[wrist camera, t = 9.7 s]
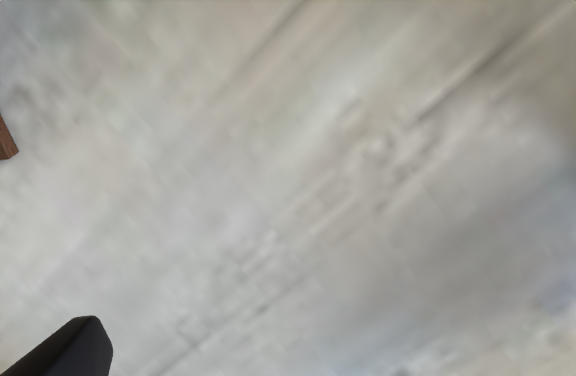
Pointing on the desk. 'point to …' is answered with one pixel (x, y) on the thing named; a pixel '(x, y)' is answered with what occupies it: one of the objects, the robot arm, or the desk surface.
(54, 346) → the robot arm
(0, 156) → the walnut spoon
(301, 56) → the desk surface
